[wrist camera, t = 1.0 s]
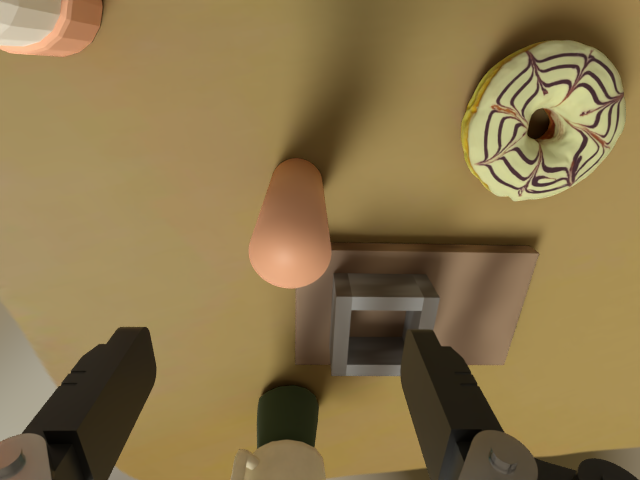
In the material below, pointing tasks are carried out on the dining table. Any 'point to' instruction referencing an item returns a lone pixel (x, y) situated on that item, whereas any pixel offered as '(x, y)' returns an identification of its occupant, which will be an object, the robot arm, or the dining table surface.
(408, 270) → the holder
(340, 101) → the dining table surface
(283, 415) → the character mug
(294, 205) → the peg
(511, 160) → the decorated donut
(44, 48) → the pepper shaker
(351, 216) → the dining table surface
